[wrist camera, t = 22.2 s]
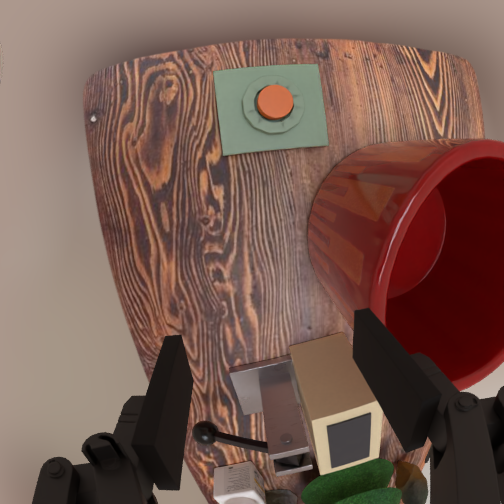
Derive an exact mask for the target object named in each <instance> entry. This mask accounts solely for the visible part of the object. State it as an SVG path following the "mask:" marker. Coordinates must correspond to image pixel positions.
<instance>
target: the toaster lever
mask: <svg viewBox="0 0 504 504" xmlns="http://www.w3.org/2000/svg"><path fill="white" fill-rule="evenodd" d="M192 436H193V438H194V440H195V441H196V442H197V443H199V444H201V445H205V446H207V445H211V444H213V443H215V442H216V441H218V442H222V443H225V444H229V445H233V446H237V447H242V448H246V449H250V450H255V451H260V452H264V453H269V452H268V444H267V442H263V441H257V440H253V439H248V438H243V437H239V436H234V435H230V434H226V433H222V432H219V431H218V428H217V426H216V425H215V424H214V423H212V422H210V421H200V422H198V423H197V424H195V426H194V427H193V429H192ZM303 455H304V453H302V454H297V455H293V456H288V457H284V458H279V459H276V461H277V462H281V463H286V464H292V465H298V466H299V464H300V462H301V459H302V457H303Z"/></svg>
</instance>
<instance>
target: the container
mask: <svg viewBox="0 0 504 504" xmlns="http://www.w3.org/2000/svg"><path fill="white" fill-rule="evenodd" d="M214 499H215V500H216V501H217V502H219V503H220V504H266V499H265V490H264V481H263V477H262V476H261V474H260V473H259V472H258V470H257V469H256V467H255V466H254V464H253V463H252V462H251V461H248V462H243V463H238V464H233V465H228V466H223V467H217V468H215V469H214Z"/></svg>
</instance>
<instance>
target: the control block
mask: <svg viewBox="0 0 504 504" xmlns="http://www.w3.org/2000/svg"><path fill="white" fill-rule="evenodd" d="M213 76H214V84H215V93H216V101H217V110H218V118H219V126H220V135H221V143H222V151H223V156H229V155H237V154H245V153H254V152H263V151H273V150H283V149H295V148H308V147H323V146H329V141H328V133H327V124H326V116H325V109H324V101H323V94H322V87H321V81H320V74H319V68H318V64H293V65H272V66H257V67H246V68H236V69H227V70H219V71H213ZM270 85H280V86H283V87H285V88H286V89H287V90H289V92H290V93H291V95H292V97H293V107H292V109H291V111H290V112H289V113H288V114H287V115H286V116H285V117H283V118H281V119H278V120H270V119H267V118H265V117H264V116H262V115H261V113H260V112H259V110H258V108H257V99H258V96H259V94H260V92H261V91H262V90H263V89H264V88H265V87H267V86H270Z"/></svg>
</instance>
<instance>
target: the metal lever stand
mask: <svg viewBox="0 0 504 504" xmlns="http://www.w3.org/2000/svg"><path fill="white" fill-rule="evenodd" d="M229 374H230V377H231V380H232V383H233V385H234V388H235V391H236V394H237V397H238V399H239V402H240V405H241V408H242V410H243V413H244V415H248V414H253V413H259V412H263V415H264V422H265V430H266V437H267V444H268V452H269V457H270V460H274V467H275V473H276V476H277V477H278V476H283V475H288V474H292V473H297V472H301V471H306V470H310V469H313V466H312V462H311V458H310V454H309V452H310V450H309V445H308V442H307V438H306V434H305V430H304V427H303V423H302V419H301V415H300V412H299V408H298V404H299V403H301V401H300V396H299V391H298V386H297V381H296V376H295V371H294V366H293V361H292V358H291V355H286V356H282V357H278V358H274V359H269V360H265V361H260V362H256V363H251V364H246V365H242V366H237V367H232V368H229ZM302 453H304V455H303V457H302V459H301V462H300V464H299V466H298V465H292V464H286V463H281V462H277V461H276V459H279V458H284V457H288V456H293V455H297V454H302Z"/></svg>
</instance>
